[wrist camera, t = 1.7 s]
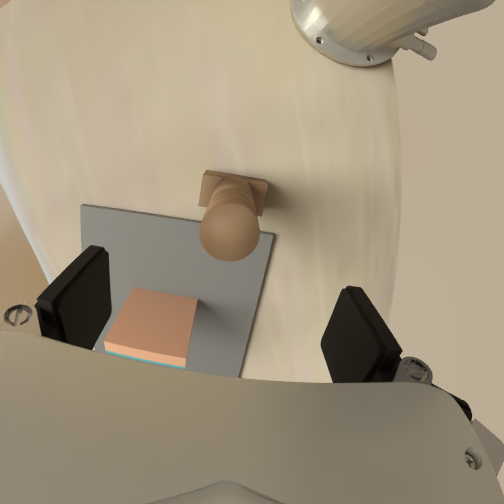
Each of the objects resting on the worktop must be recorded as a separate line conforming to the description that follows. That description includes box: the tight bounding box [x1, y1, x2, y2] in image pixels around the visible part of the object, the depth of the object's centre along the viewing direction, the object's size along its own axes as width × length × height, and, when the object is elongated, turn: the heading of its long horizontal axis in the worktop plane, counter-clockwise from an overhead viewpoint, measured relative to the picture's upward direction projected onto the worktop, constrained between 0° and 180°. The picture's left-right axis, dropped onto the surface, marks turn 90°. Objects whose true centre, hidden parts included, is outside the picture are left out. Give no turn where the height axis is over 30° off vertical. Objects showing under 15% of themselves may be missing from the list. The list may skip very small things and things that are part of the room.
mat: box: [81, 204, 274, 378], centre depth 34 cm, size 22×24×1 cm
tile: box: [104, 287, 198, 369], centre depth 29 cm, size 8×2×10 cm, turn 79°
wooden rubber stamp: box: [198, 170, 268, 262], centre depth 23 cm, size 6×4×13 cm, turn 79°
